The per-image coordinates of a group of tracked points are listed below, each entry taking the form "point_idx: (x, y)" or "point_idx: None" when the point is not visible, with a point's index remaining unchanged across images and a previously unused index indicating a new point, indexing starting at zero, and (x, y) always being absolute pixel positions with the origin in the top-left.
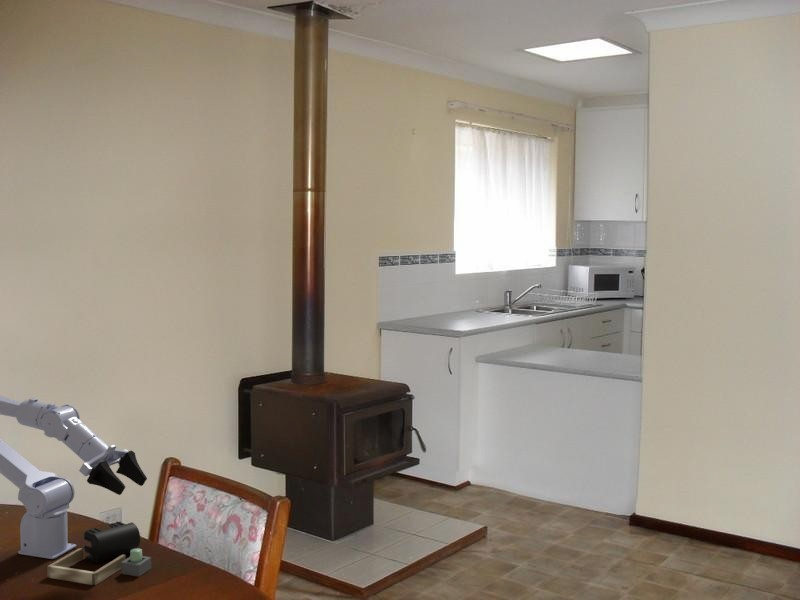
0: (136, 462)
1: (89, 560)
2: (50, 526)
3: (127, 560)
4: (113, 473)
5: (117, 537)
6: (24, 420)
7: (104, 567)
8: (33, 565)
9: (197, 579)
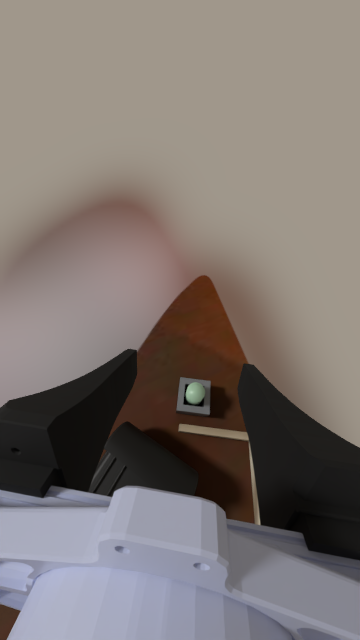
0: (79, 382)
1: None
2: None
3: (200, 407)
4: (273, 401)
5: (161, 452)
6: None
7: (234, 432)
8: None
9: (194, 320)
